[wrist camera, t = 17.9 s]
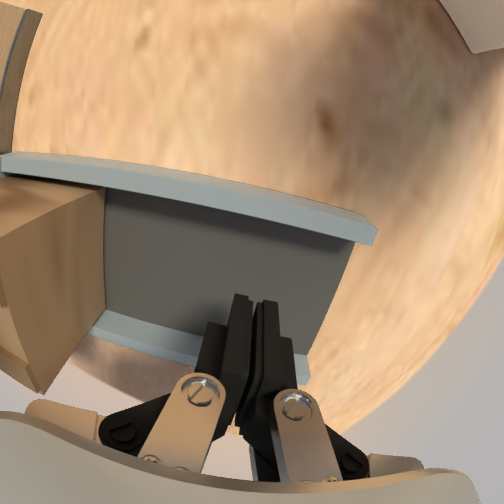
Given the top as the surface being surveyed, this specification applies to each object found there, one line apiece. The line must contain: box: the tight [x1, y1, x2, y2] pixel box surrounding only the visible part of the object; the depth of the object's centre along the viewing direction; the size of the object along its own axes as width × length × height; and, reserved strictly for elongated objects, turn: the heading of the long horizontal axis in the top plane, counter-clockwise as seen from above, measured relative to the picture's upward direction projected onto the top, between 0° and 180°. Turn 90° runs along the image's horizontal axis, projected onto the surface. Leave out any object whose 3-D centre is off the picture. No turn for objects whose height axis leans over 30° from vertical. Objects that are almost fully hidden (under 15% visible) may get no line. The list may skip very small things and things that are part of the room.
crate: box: [0, 173, 106, 395], centre depth 9 cm, size 7×7×7 cm
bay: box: [0, 152, 378, 385], centre depth 12 cm, size 20×9×3 cm, turn 77°
